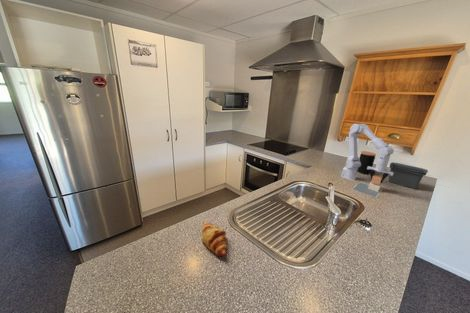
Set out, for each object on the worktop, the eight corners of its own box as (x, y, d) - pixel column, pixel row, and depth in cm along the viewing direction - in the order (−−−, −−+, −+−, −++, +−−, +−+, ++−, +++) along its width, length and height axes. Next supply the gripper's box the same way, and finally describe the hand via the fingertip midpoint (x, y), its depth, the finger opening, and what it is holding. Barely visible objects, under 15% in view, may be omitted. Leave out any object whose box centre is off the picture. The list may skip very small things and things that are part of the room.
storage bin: (383, 181, 147) (388, 164, 143) (387, 176, 157) (392, 160, 153) (419, 192, 132) (427, 173, 128) (421, 185, 143) (428, 168, 138)
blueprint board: (350, 190, 130) (352, 184, 129) (359, 182, 143) (360, 177, 141) (376, 199, 120) (378, 192, 118) (382, 190, 133) (384, 184, 131)
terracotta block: (370, 182, 131) (372, 175, 129) (372, 180, 134) (374, 174, 132) (379, 185, 127) (381, 178, 126) (381, 183, 130) (383, 176, 129)
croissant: (200, 234, 87) (191, 223, 84) (217, 220, 90) (210, 209, 86) (218, 269, 70) (209, 258, 66) (239, 250, 73) (231, 239, 69)
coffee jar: (369, 171, 166) (375, 152, 160) (370, 175, 157) (376, 155, 152) (356, 169, 171) (361, 150, 165) (356, 172, 163) (361, 153, 157)
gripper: (368, 161, 129) (362, 179, 133) (394, 168, 118) (387, 186, 123) (370, 159, 133) (365, 176, 137) (396, 165, 123) (389, 184, 127)
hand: (376, 181), depth 130 cm, fingers closed on terracotta block, 5 cm apart
